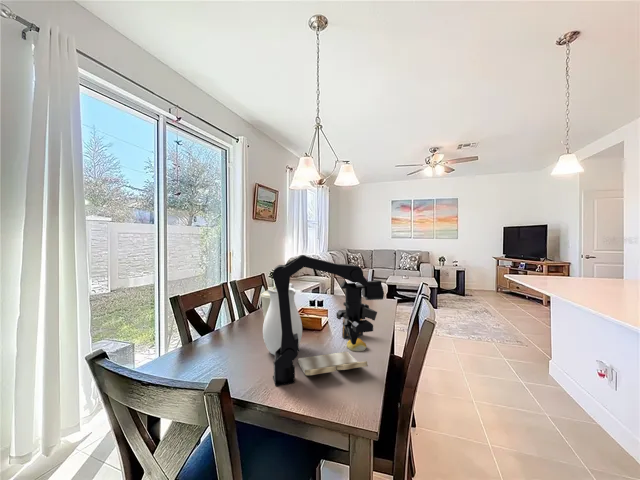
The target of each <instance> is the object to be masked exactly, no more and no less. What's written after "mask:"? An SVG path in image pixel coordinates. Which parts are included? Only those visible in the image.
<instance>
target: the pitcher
mask: <svg viewBox="0 0 640 480" xmlns="http://www.w3.org/2000/svg"><path fill="white" fill-rule="evenodd" d="M271 290H273V289H267V290H266V291H268V293H269V294H270V305H269V308H268V311H267V314H266V316H265V319H264V318H263V320H264V321H263V325H262V337H263V341H264V345H265V347H266V349H267V350H268V352H269V354H271V355H272V356H275V352H276V351H277V350H278V349H279V348H280V347H281V337H282V328H281V318H280V308H279V298H278V292H277V289H275V290H273V291H271ZM295 295H296V289H295V287H294V284H293V283H289V302H290V312H291V323H292V330H293V333H294V334H296V333H297V334H298V343H299V345H300V343H301V341H302V336H303V324H302V323H303V322H302V318H301V315H300V313H299V310H298V308H297V305H296V302H295Z"/></svg>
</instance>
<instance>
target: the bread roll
mask: <svg viewBox="0 0 640 480" xmlns="http://www.w3.org/2000/svg"><path fill="white" fill-rule="evenodd" d="M346 348H347V349H348V350H350V351H352V352H364V351H365V350H366V349H367V344H366V342H364V341H363V339H361V338H359V337H358V338H357V341H356V344H355V345H353V344H352V343H351V341H350V339H349V340H348V341H347V342H346Z"/></svg>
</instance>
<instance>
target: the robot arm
mask: <svg viewBox="0 0 640 480" xmlns="http://www.w3.org/2000/svg"><path fill="white" fill-rule="evenodd" d="M303 268H306V269H307V268H308V269H311V270H315V271H319V272H324V273H327V274H328V273H329V274H332V275H336V276H338V277H340V278H342V279H344V280H343V282H342V283H341V284H339V288H341V289H342V290H345V296H344V297H345V301H344V302H343V306H344V307H345V309H340V310H337V311H336V318H337V320H339V321H340V320H341V319H342V318H343V317H344V323H343V322H342V326H343V325H344V327H345V330H346V332H347V334H348V336H349V338H348V339H349V340H350V341H351V343H352V344H353V345H355V344H356V341H357V338H359V337H358V335H359V333H363V334H364V333H370V332H374V324H373V323H372V322H371V321H369V320H368V319H370V320H372V321H374V322H375V320H376V318H377V314H378V311H376V310H375V309H372V308H371V307H369V305H368V304H367V303H362V301H363V299H362V298H364V299H365V300H366V301H379V300H380V301H381V300H383V299H384V296H385V291H384V287H383V285H382V281H381V280H379V279H377V280H367V279H366V278H365V276H364V271H363V269H362V268H361V267H360V266H359V265H356V264H350V263H349V264H348V263H334V262H331V261H326V260H323V259H318V258H315V257H310V256H306V255H305V254H301V255H299V256H297V257H295V258H294V259H292V260H291V261H289V262H286V263H285V264H278V265H277V266H275V267H274V269H273V271H272V278H273V281H274V282H273V283H274V285H275V286H276V289H277V292H278V298H279V308H280V318H281V328H282V337H281V347H280V348H279V349H278V350H277V351H276V352H275V355H274V361H273V375H272V379H273V382H274V385H275V386H276V387H279V386H285V385H290V384H295V379H296V371H295V370H296V369H295V365H294V362H293V361H295V360H296V359H297V357H298V353H299V352H300V351H301V349H300V344H299V343H298V334H297V333H296V334H294V333H293V330H292V323H291V312H290V302H289V283H290V282H291V281H290V280H291V277H292V276H293V275H295V274H296V273H298V272H299V271H301V269H303ZM346 280H347V281H346ZM359 284H360V285H359ZM366 318H367V319H366ZM360 319H362V320H360Z"/></svg>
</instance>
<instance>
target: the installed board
mask: <svg viewBox="0 0 640 480" xmlns="http://www.w3.org/2000/svg"><path fill="white" fill-rule="evenodd" d="M297 362H298V365H299V367H300V369H301V371H302V372H303V374H304V375H305V370H312V369H318V368H324V367H333V366H335V367H336V366H337V365H343V364H350V363H356V362H359V361H358V360H357V359H356V358H355V357H354V356H352V355H351V354H350V352H348V351H343V352H335V353H329V354H328V353H327V354H321V355H314V356H307V357H306V356H305V357H299V358H297Z"/></svg>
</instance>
